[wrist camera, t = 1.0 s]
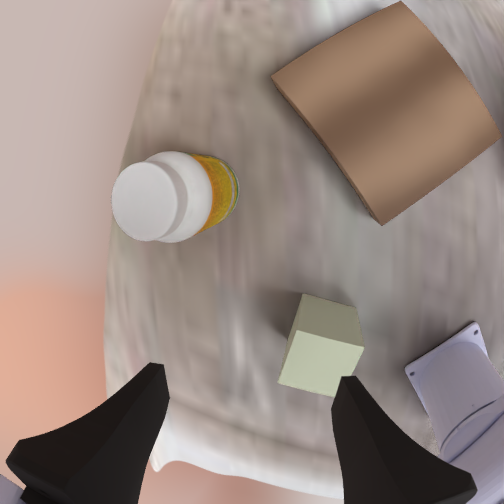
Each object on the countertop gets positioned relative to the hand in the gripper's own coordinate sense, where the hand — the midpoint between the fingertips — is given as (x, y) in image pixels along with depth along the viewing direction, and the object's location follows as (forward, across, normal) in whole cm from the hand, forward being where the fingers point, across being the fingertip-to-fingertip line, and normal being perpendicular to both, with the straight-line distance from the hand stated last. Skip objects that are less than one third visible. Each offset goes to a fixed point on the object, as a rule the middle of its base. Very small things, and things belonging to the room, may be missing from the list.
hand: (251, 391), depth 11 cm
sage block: (+12, -5, +4) cm, 14 cm away
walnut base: (+13, -9, -13) cm, 20 cm away
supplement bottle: (+15, +4, -6) cm, 16 cm away
